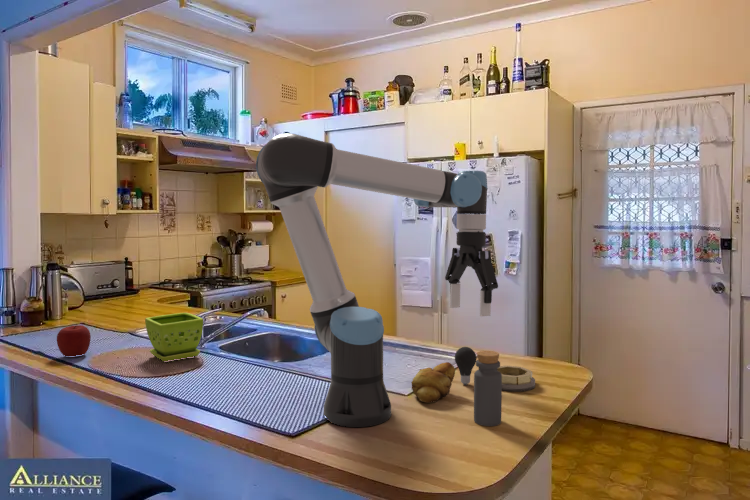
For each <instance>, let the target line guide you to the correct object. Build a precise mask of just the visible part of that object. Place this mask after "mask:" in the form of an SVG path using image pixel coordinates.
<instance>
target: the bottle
mask: <svg viewBox="0 0 750 500" xmlns="http://www.w3.org/2000/svg"><path fill="white" fill-rule="evenodd" d="M476 357H477V359H476V363H475V366H476V367H477V368H478V369H477V370H475V371H474V374H473V421H474V423H475V424H477V425H479V426H483V427H496V426H499V425H501V424H502V405H503V404H502V402H503V401H502V400H503V399H502V397H503V393H502V391H503V390H502V374H501V373H500V372H499V371H497V368H499V367H500V366H501V361H499V359H500V358H499V357H500V353H499V352H497V351H494V350H479V351H477V352H476Z"/></svg>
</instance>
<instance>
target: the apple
mask: <svg viewBox="0 0 750 500" xmlns="http://www.w3.org/2000/svg"><path fill="white" fill-rule="evenodd" d="M91 336H92V335H91V332H90V329H89V328H88V327H86V326H85V325H80V324H79V325H77V324H76V325H69V326H65V327H63V328H61V329H59V331H58V332H57V335H56V343H57V347H58V350H59V352H60V354H62V355H63V356H64V355H65V356H76V355H82V354H84V355H85V354H86V353H87V352H88V350H89V347H90V344H91ZM65 356H64V357H65Z"/></svg>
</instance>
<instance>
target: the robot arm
mask: <svg viewBox="0 0 750 500" xmlns="http://www.w3.org/2000/svg"><path fill="white" fill-rule="evenodd" d="M255 162H256V163H255V168H256V173H257V176H258V178H259V180H260V182H261V183H262V184H263V185H264V188H265V191H266V194H267V196H268V197H267V198H268V199H269V202H270V204H272V205H274V206H276V207H278V208H279V211H280V213H281V216H282V218H283V219H282V220H283V221H284V224H285V227H286V230H287V233H288V235H289V238H290V241H291V244H292V247H293V249H294V252H295V256H296V257H297V260H298V263H299V265H300V268H301V271H302V275H303V277H304V280H305V283H306V286H307V288H308V291H309V294H310V297H311V299H312V303H311V305H310V306H309V307H310V308H309V312H310V315H311V317H312V321H313V324H314V333H315V336H316V338H317V340H318V341H319V344H321V345H322V346H323V348H325V349H326V350H327V351H328V352H329V353H330V379H331V380H330V384H329V388H328V391H327V394H326V398H325V401H324V404H323V416H324V415H325V416H326V417H327V418H328V419H329V421H330V422H332V423H334V424H333V425H335V424H337V426H339V425H340V427H345V426H346V427H345V428H365V427H372V426H376V425H380V424H383V423H385V422H387V421H388V420H389V419H390V418H391V417H392V404H391V400H390V398H389V397H390V396H389V393H388V391H387V387H386V384H385V382H384V332H385V326H384V321H383V320H384V319H383V317H382V315H381V314H380V312H379V311H377V310H375V309H373V308H367V307H364V306H360V305H359V303H358V299H357V297H356V294H355V293H354V292H353V291H351V290H349V289H347V286H346V284H345V281H344V279H343V275H342V272H341V270H340V266H339V264H338V261H337V258H336V256H335V252H334V249H333V246H332V245H331V242H330V238H329V236H328V235H329V234H328V233H327V230H326V226H325V224H324V221H323V218H322V215H321V213H320V210H319V207H318V204H317V201H316V199H315V194H316V192H317V190H318V188H319V187H320V188H323V189H325V188H327V187H328V186H330V185H333V186H340V187H346V188H352V189H357V190H362V191H369V192H374V193H378V194H384V195H385V194H386V195H391V196H397V197H402V198H408V199H412V200H413V202H414V204H415V205H416V206H417V207H420V208H421V207H422V208H453V209H454V208H455V209H456V229H457V230H458V231H457V232H456V245H457V246H458V247H453V248H451V249H452V252H451V258H450V259H449V260H450V261H449V265H448V266H447V271H446V274H445V277H444V279H445V281H448V284H449V295H450V296H449V308H451V309H454V308H455V309H456V308H460V307H461V281H460V280H461V278H462V276H463V275H464V272H465V271H466V269H467V267H471V269H472V270H474V273H475V275H476V277H477V279H478V281H479V283H480V286H481V289H480V290H479V291H480V294H479V295H480V296H479V301H480V302H479V316H480V317H491V309H492V307H491V306H492V305H491V304H492V301H493V300H492V299H493V298H492V297H493V295H492V294H493V291H494V290H495V289H498V288H499V284H498V280H497V276H496V273H495V269H494V265H493V262H492V254H491V252H492V251H491V250H483V247H485V246H486V244H487V243H486V240H487V239H486V238H487V233H486V231H484V230H486V229H487V203H488V201H487V197H488V190H489V188H488V175H487V173H486V172H485V171H481V170H461V171H459V172H458V173H457V172H451V171H448V170H447V171H446V170H441V169H435V168H431V167H426V166H422V165H416V164H411V163H407V162H402V161H397V160H392V159H388V158H387V159H386V158H382V157H377V156H371V155H368V154H367V155H366V154H362V153H356V152H353V151H352V152H351V151H346V150H342V149H338V148H337V147H336V146H335V145H334V143H332V142H326V141H322V140H319V139H315V138H311V137H307V136H304V135H299V134H295V133H281V134H278V135H275V136H273V137H272V138H271V139H270V140H268V142H267V143H266V144H264V145H263V146H262V148H260V151H259V152H258V154H257V155H256V161H255ZM330 422H329V423H330ZM332 423H331V424H332Z"/></svg>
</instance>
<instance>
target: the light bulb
mask: <svg viewBox="0 0 750 500" xmlns="http://www.w3.org/2000/svg"><path fill="white" fill-rule="evenodd" d="M454 361H455V365H456V366H457V368H458V370H459V375H460V383H462V384H463V385H464V386H468V384H470V382H471V375H472V371H473V369H474V366H476V361H477V353H476V352H475V351H474V350H473V348H471V347H468V346H463V347H459V348H458V349H457V350H456V352H455V354H454Z"/></svg>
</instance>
